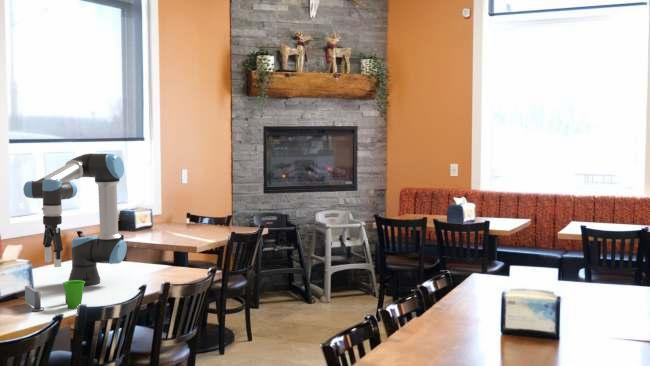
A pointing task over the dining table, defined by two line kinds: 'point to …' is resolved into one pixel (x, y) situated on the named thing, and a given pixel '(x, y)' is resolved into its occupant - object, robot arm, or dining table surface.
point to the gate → (33, 297)
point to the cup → (74, 292)
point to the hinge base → (37, 310)
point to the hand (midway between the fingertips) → (52, 264)
